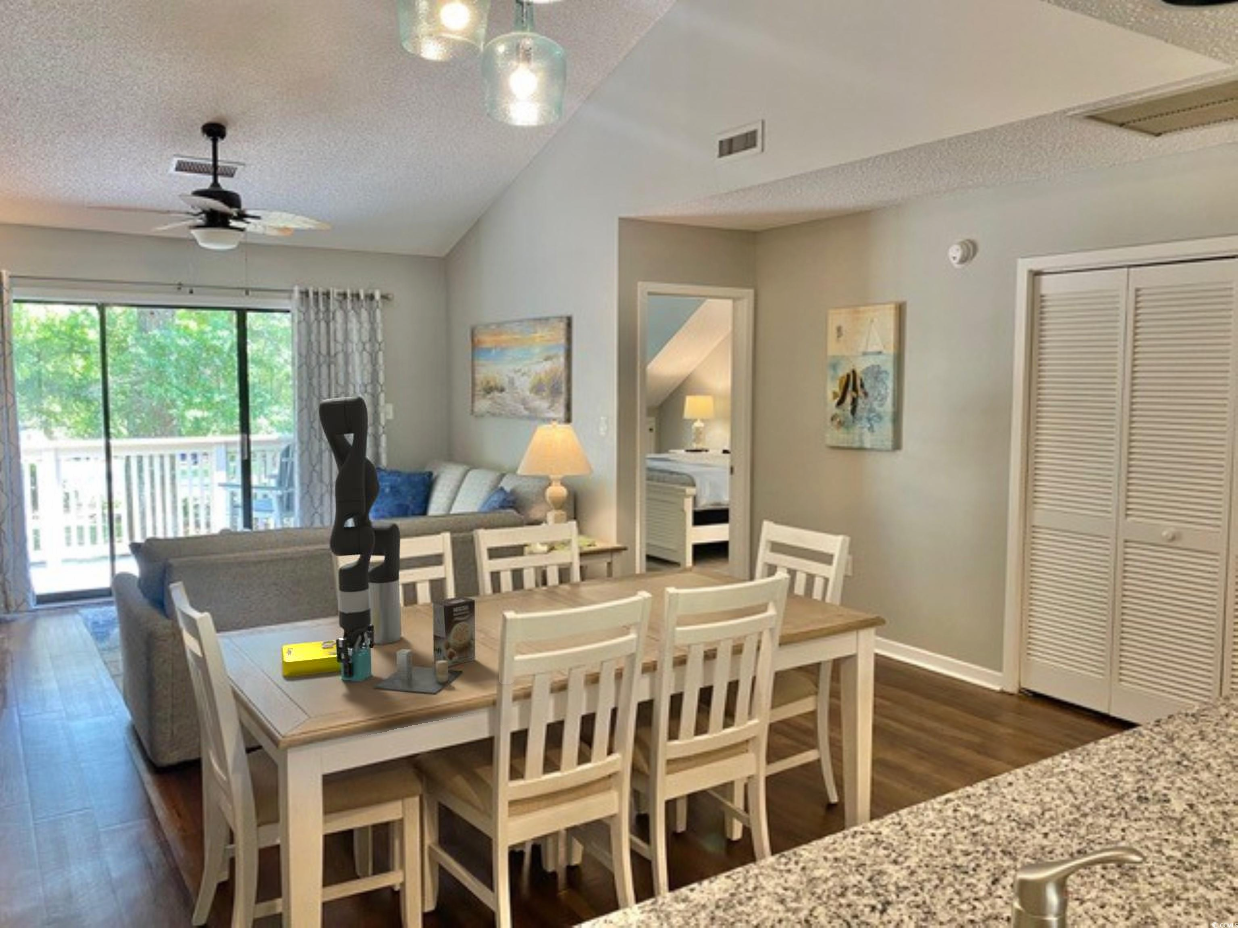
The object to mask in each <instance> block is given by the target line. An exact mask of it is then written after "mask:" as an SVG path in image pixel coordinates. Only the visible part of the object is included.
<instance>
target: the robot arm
mask: <svg viewBox="0 0 1238 928" xmlns="http://www.w3.org/2000/svg"><path fill="white" fill-rule="evenodd" d="M318 415H319V420H320V424H321V428H322V431H323V432H324V435H325V438H326V440H327V442H328V444H329V447H330V449H331V453H332V454H333V458H334V461H335V464H336V467H337V470H338V474H337V476H336V479H335V483H334V484H335V485H334V496H335V499H334V501H335V515H334V523H333V525H332V531H331V533H330V537H329V549H330V551H331V552H332V554H333V555H334V556H337V557H347V556H359V557H358V558H357V560H356V561H354V562H351V563H347V564H344V565H342V566H340V567H339V569H338V602H337V603H338V605H337V606H338V625H339V627H340V628H341V629H342V630H343V635H342V637H341V638H339V637H338V638H336V639H335V640H336V651H337V662H341V663H343V670H344V677H345V678H352V677H353V663H352V662H353V658H354V655H355V654H356V653H357V649H358V648H364V649H371V650H372V649H373V648H374V646H375V645H385V644H393V643H396V642H398V641H400V640H401V639H402V608H401V603H400V602H401V597H400V596H401V595H400V593H401V592H400V590H401V588H400V568H401V566H400V564H401V562H400V560H401V559H400V558H401V557H400V555H401V552H400V551H401V532H400V531H401V530H400V528H399V526H398V524H397V523H395V522H394V523H393V522H373V521H371V519H370V516H369V514H370V512H371V510H372V508H373V506H374V504H375V502H376V500H377V499H378V497H379V493H380V491H381V485H380V480H379V477H378V473H377V470H376V467H375V465H374V464H373V462H372V460H370V459H369V458H368V457H367V447H368V446H367V445H368V428H369V416H368V415H369V413H368V408H367V404H366V401H365V399H363V397H361V396H345V397H333V398H327V399H324V400H322V401H320V403H319V407H318ZM351 434H352V436H353V437H352V444H351V443H350V442H349V440H348V439H347V438H346V436H345V435H351ZM351 519H352V522H353V526H345V524H346V522H347V521H349V520H351ZM374 556H375V557H384V559H383V562H382V563H381V564H378V565H375V566H372V567H370V564H371V563H370V562H371V559H372V557H374ZM349 649H352V650H349ZM348 653H349V654H350V656H348ZM341 654H343V655H342V657H341Z"/></svg>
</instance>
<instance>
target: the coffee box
mask: <svg viewBox="0 0 1238 928" xmlns="http://www.w3.org/2000/svg"><path fill="white" fill-rule="evenodd" d="M432 605H433V606H432V619H433V621H432V622H433V623H432V626H433V628H432V629H433V630H432V632H433V634H432V636H433V637H432V638H433V639H432V640H433V642H432V643H433V644H432V645H433V646H432V647H433V651H432V652H433V657H432V658H433V663H436V662H437V661H447V662H448V667H450V666H455V665H459V664H463V663H467V662H471V661H474V660H476V606H475V605H476V600H475V599H473V598H470V597H464V596H457V597H450V598H445V599H440V600H435V601H432Z"/></svg>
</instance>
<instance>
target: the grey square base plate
mask: <svg viewBox="0 0 1238 928" xmlns="http://www.w3.org/2000/svg"><path fill="white" fill-rule="evenodd" d="M412 653H413V652H412V649H404V648H402V649H400V650H398V651H396V671H395V672H393V673H392V674H391V675H388V676H387V677H386V678H385V679H383V680H381V682H379V683H377V684H376V685H373V689H374V688H375V689H376V690H385V691H395V690H396V692H407V693H416V692H417V693H418V694H426V695H427V694H429V695H436V694H438V693H439V692H440V691H441V690H443V689H444V688H445V687H447V686H448V685H449V684H450V683H452V682H453V681H454V680H456V679H457V678H458V677H460V676H461V675H462V674H463V673H464V670H458V669H448V681H447V682H444V683H439V682H436V667H425V666H413V664H412V660H413V659H412ZM455 678H456V679H455Z"/></svg>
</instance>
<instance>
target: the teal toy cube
mask: <svg viewBox="0 0 1238 928" xmlns="http://www.w3.org/2000/svg"><path fill="white" fill-rule="evenodd" d="M348 650H352V649H349V648H348ZM342 655H343V654H341V657H342ZM348 656H350V654H349V653H348ZM352 663H353V677H352V678H345V677H344V670H343V663H341V675H340V676H341V680H342V681H347V680H351V681H350V682H358V681H361V682H363V681H364V680H366V679H367V678H369V677H371V676H372V648H371V649H364V648H358V649H357V653H356V654H355V655H354V658H353V662H352ZM365 678H366V679H365ZM362 680H363V681H362Z"/></svg>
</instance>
